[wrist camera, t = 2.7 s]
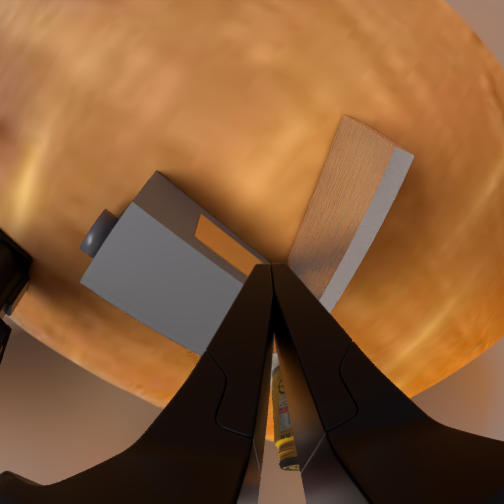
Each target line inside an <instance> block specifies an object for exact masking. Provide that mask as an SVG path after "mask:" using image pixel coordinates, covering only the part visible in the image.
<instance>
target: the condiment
mask: <svg viewBox="0 0 504 504" xmlns="http://www.w3.org/2000/svg"><path fill="white" fill-rule="evenodd" d="M270 385H271V388H272V401H273V419H274V442H275V445H276V447H277V448H278V449H279V450H280V451H279V458H280V463H279V465H280V468H281V469H283V470H286V471H300V467H299V462H298V456H297V451H296V446H295V441H294V436H293V431H292V426H291V420H290V415H289V410H288V405H287V400H286V395H285V390H284V385H283V380H282V375H281V370H280V365H279V360H278V355H277V353H273V359H272V371H271V383H270Z"/></svg>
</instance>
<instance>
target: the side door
mask: <svg viewBox="0 0 504 504" xmlns="http://www.w3.org/2000/svg"><path fill="white" fill-rule="evenodd" d="M413 158H414V155H413V154H411V153H410V152H408V151H407V150H405V149H404V148H402V147H401V146H399V145H398V144H396V143H395V142H393V141H391V140H390V139H388V138H387V137H385V136H383V135H382V134H380V133H378V132H377V131H375V130H373V129H372V128H370V127H368V126H367V125H365V124H363V123H361V122H360V121H358V120H355V119H353V118H350V117H348V116H345V115H343V117H342V120H341V122H340V125H339V128H338V131H337V133H336V136H335V139H334V141H333V144H332V147H331V149H330V152H329V155H328V157H327V160H326V163H325V165H324V168H323V171H322V173H321V176H320V178H319V181H318V184H317V186H316V189H315V191H314V194H313V196H312V199H311V201H310V204H309V206H308V209H307V211H306V214H305V216H304V219H303V221H302V224H301V226H300V229H299V231H298V234H297V236H296V239H295V241H294V243H293V246H292V248H291V251H290V253H289V255H288V258H287V260H288V265H289V267H290V268H291V269H292V270H293V271H294V273H295V274H296V275H297V276H298V277H299V278H300V279H301V281H302V282H303V283H304V284H305V285H306V286H307V287H308V289H309V290H310V291H311V292H312V293H313V294H314V296H315V297H316V298H317V299H318V300H319V301H320V303H321V304H322V305H323V306H324V307H325V308H326V309H327V311H328V312H329V313H331V311H332V310H333V308H334V306H335V305H336V303H337V302H338V300H339V298H340V297H341V295H342V294H343V292H344V290H345V289H346V287H347V285H348V284H349V282H350V280H351V279H352V277H353V275H354V274H355V272H356V270H357V269H358V267H359V265H360V263H361V262H362V260H363V258H364V256H365V255H366V253H367V251H368V249H369V247H370V246H371V244H372V242H373V240H374V238H375V236H376V234H377V233H378V231H379V229H380V227H381V225H382V223H383V221H384V219H385V217H386V215H387V213H388V211H389V209H390V207H391V205H392V203H393V201H394V199H395V197H396V195H397V193H398V191H399V189H400V187H401V185H402V183H403V181H404V178H405V176H406V174H407V172H408V170H409V167H410V165H411V163H412V161H413Z"/></svg>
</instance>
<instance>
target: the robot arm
mask: <svg viewBox="0 0 504 504" xmlns="http://www.w3.org/2000/svg"><path fill="white" fill-rule="evenodd" d="M32 263H33V261H32V259H31V257H30V256H28V255H27V254H26V253H25V252H24V251H22V250H21V249H20V248H19V247H18V246H16V245H15V244H14V243H13V242H12V241H11V240H10V239H9V238H7V237H6V236H5V235H4V234H3V233H2V232H1V231H0V363H1V361H2V357H3V354H4V351H5V348H6V345H7V342H8V339H9V336H10V333H11V330H12V329H11V328H10V326H9V325H7V324H6V323H5V322H4V321H3V320H2V319H3V317H4V316H5V314H7V315H8V316H10V315H11V314H12V313H13V311H14V309H15V308H16V306H17V304H18V303H19V301H20V300H21V298H22V297H23V295H24V294H25V292H26V290H27V288H28V285H29V281H30V275H29V273H30V269H31V266H32ZM274 338H275V344H276V350H277V355H278V360H279V365H280V370H281V375H282V380H283V385H284V390H285V395H286V400H287V405H288V410H289V415H290V420H291V426H292V431H293V436H294V441H295V446H296V451H297V456H298V462H299V467H300V472H301V477H302V483H303V488H304V493H305V498H306V503H307V504H504V441H500V440H495V439H491V438H487V437H483V436H479V435H476V434H472V433H468V432H465V431H461V430H458V429H454V428H451V427H448V426H445V425H443V424H441V423H439V422H437V421H435V420H433V419H432V418H431V417H429V416H428V415H427V414H426V413H425V412H423V411H422V410H421V409H420V408H419V407H418V406H417V405H416V404H415V403H414V402H413V401H412V400H410V399H409V398H408V397H407V396H406V395H405V394H404V393H403V392H402V391H401V390H400V389H399V388H398V387H397V386H395V385H394V384H393V383H392V382H391V381H390V380H389V379H388V378H387V377H386V376H385V375H384V374H383V373H382V372H381V371H380V370H379V369H378V368H377V367H376V366H375V365H374V364H373V363H372V362H371V361H370V359H369V358H368V357H367V356H366V355H365V354H364V353H363V352H362V351H361V349H360V348H359V347H358V346H357V345H356V343H355V342H352V339H351V338H350V336H349V335H348V334H347V333H346V332H345V331H344V329H343V328H342V327H341V326H340V325H339V323H338V322H337V321H336V320H335V319H334V318H333V316H332V315H331V314H330V313H329V312H328V311H327V309H326V308H325V307H324V306H323V305H322V304H321V303H320V301H319V300H318V299H317V298H316V297H315V296H314V294H313V293H312V292H311V291H310V290H309V289H308V287H307V286H306V285H305V284H304V283H303V282H302V281H301V279H300V278H299V277H298V276H297V275H296V274H295V273H294V271H293V270H292V269H291V268H290V267H289V266H288V265H287V263H285V262H280V263H272V264H271V265H270V264H269V263H261V264H256V265H255V266H254V267H253V269H252V271H251V273H250V274H249V276H248V278H247V279H246V281H245V283H244V285H243V286H242V288H241V290H240V291H239V293H238V295H237V297H236V298H235V300H234V302H233V303H232V305H231V307H230V309H229V310H228V312H227V314H226V315H225V317H224V319H223V321H222V322H221V324H220V326H219V327H218V329H217V331H216V333H215V334H214V336H213V338H212V339H211V341H210V343H209V344H208V346H207V348H206V351H204V353H203V354H202V356H201V358H200V359H199V361H198V363H197V364H196V366H195V368H194V369H193V371H192V372H191V374H190V375H189V377H188V378H187V380H186V381H185V382H184V384H183V385H182V387H181V388H180V389H179V391H178V392H177V393H176V394H175V396H174V397H173V398H172V400H171V401H170V402H169V403H168V404H167V406H166V407H165V408H164V409H163V411H162V412H161V413H160V414H159V416H158V417H157V418H156V419H155V420H154V422H153V423H152V424H151V425H150V427H149V428H148V429H147V430H146V431H145V433H144V434H143V435H142V436H141V437H140V438H139V439H138V440H137V441H136V442H135V443H134V444H133V445H132V446H130V447H129V448H128V449H126V450H125V451H123V452H122V453H120V454H118V455H116V456H114V457H112V458H110V459H108V460H106V461H104V462H102V463H100V464H98V465H96V466H94V467H92V468H90V469H87V470H85V471H83V472H81V473H79V474H76V475H74V476H72V477H70V478H67V479H65V480H62V481H60V482H57V483H54V484H51V485H45V486H43V485H41V484H38V483H36V482H34V481H31V480H29V479H27V478H24V477H22V476H20V475H17V474H15V473H13V472H10V471H5V472H3V473H1V474H0V504H258V496H259V487H260V480H261V476H260V475H261V471H262V463H263V453H264V443H265V435H266V425H267V415H268V404H269V394H270V383H271V371H272V359H273V346H274Z"/></svg>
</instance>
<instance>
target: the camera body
mask: <svg viewBox="0 0 504 504" xmlns="http://www.w3.org/2000/svg"><path fill="white" fill-rule="evenodd" d="M79 249H81V250H82V251H83V252H85V253H86V254H87V255H89V256H90V257H91V258H93V260H92V262H91V264H90V265H89V267H88V269H87V270H86V272H85V274H84V275H83V277H82V279H81V280H80V283H82V284H83V285H84V286H86V287H87V288H89V289H90V290H92V291H93V292H94V293H96V294H97V295H99V296H100V297H102V298H103V299H105V300H106V301H108V302H109V303H111V304H112V305H114V306H115V307H117V308H119V309H120V310H122V311H123V312H125V313H126V314H128V315H130V316H131V317H133V318H135V319H136V320H138V321H139V322H141V323H143V324H144V325H146V326H148V327H150V328H151V329H153V330H155V331H156V332H158V333H160V334H162V335H163V336H165V337H167V338H169V339H170V340H172V341H174V342H176V343H178V344H180V345H181V346H183V347H185V348H187V349H189V350H191V351H193V352H195V353H196V354H198V355H200V356H202V354H203V353H204V351H206V348H207V346H208V344H209V343H210V341H211V339H212V338H213V336H214V334H215V333H216V331H217V329H218V327H219V326H220V324H221V322H222V321H223V319H224V317H225V315H226V314H227V312H228V310H229V309H230V307H231V305H232V303H233V302H234V300H235V298H236V297H237V295H238V293H239V291H240V290H241V288H242V286H243V285H244V283H245V281H246V279H247V278H248V276H249V274H250V273H251V271H252V269H253V267H254V266H255V265H256V264H261V263H269V264H270V265H271V264H272V263H271V262H269V261H268V260H267V259H266V258H264V257H263V256H262V255H261V254H259V253H258V252H257V251H256V250H254V249H253V248H252V247H251V246H249V245H248V244H247V243H246V242H245V241H243V240H242V239H241V238H240V237H238V236H237V235H236V234H235V233H233V232H232V231H231V230H230V229H228V228H227V227H226V226H225V225H223V224H222V223H221V222H220V221H218V220H217V219H216V218H215V217H213V216H212V215H211V214H210V213H208V212H207V211H206V210H205V209H203V208H202V207H201V206H200V205H198V204H197V203H196V202H195V201H193V200H192V199H191V198H190V197H188V196H187V195H186V194H185V193H183V192H182V191H181V190H180V189H178V188H177V187H176V186H175V185H173V184H172V183H171V182H170V181H168V180H167V179H166V178H165V177H163V176H162V175H161V174H160V173H158V172H157V171H155V173H154V174H153V175H152V177H151V178H150V179H149V180H148V182H147V183H146V184H145V185H144V187H143V188H142V189H141V191H140V192H139V193H138V195H137V196H136V197H135V199H134V200H133V201H132V203H131V204H130V205H129V207H128V208H127V210H126V211H125V212H124V214H123V215H122V217H121V218H120V219H119V218H117V217H116V216H115V215H113V214H112V213H111V212H110V211H108V210H107V209H105V210H104V211H103V212H102V214H101V215H100V216H99V218H98V219H97V220H96V222H95V223H94V225H93V226H92V227H91V229H90V230H89V232H88V234H87V235H86V237H85V239H84V240H83V242H82V244H81V246H80V248H79ZM286 263H287V265H288V262H286ZM288 266H289V265H288Z"/></svg>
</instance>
